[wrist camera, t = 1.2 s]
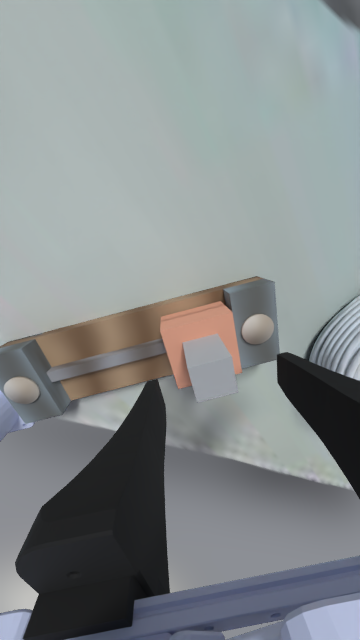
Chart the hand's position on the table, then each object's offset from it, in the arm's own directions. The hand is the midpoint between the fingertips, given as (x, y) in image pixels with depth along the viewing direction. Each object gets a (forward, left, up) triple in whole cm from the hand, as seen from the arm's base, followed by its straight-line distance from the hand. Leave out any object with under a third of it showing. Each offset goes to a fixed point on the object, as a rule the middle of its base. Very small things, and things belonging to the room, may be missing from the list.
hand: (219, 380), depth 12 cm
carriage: (0, -1, -9) cm, 9 cm away
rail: (-6, -1, -10) cm, 12 cm away
